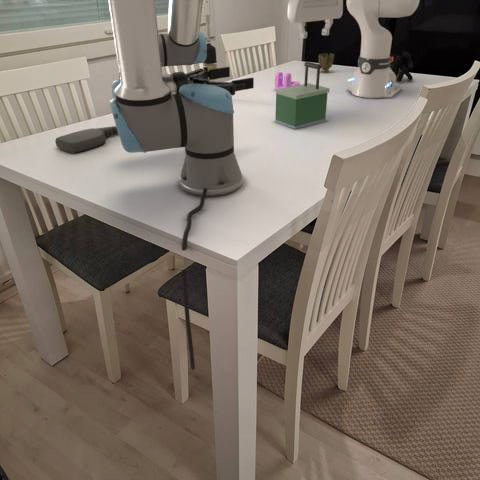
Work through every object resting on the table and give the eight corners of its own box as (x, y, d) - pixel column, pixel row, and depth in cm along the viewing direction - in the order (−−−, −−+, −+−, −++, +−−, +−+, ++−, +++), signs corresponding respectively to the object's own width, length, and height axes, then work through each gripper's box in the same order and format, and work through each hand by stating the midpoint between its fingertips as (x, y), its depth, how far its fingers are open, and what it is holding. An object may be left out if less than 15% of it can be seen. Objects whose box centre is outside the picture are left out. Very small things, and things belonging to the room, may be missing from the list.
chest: (305, 114, 158) (306, 87, 154) (325, 121, 152) (327, 92, 147) (275, 121, 152) (276, 93, 147) (294, 129, 145) (296, 99, 140)
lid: (308, 86, 154) (310, 59, 149) (329, 92, 147) (331, 63, 142) (276, 93, 147) (276, 65, 142) (296, 99, 140) (297, 70, 135)
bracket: (286, 91, 186) (286, 74, 182) (275, 89, 189) (275, 72, 185) (302, 85, 195) (302, 68, 191) (291, 83, 197) (291, 67, 194)
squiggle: (400, 92, 202) (376, 71, 205) (417, 76, 202) (392, 56, 205) (405, 81, 191) (380, 59, 194) (423, 64, 191) (397, 42, 194)
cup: (315, 72, 216) (316, 55, 212) (320, 69, 222) (321, 52, 218) (330, 73, 213) (331, 56, 209) (334, 71, 219) (336, 53, 215)
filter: (220, 99, 177) (217, 15, 161) (206, 100, 176) (202, 16, 160) (215, 96, 182) (212, 14, 166) (202, 97, 180) (197, 14, 164)
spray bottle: (53, 147, 134) (120, 127, 150) (74, 154, 128) (141, 133, 144) (51, 137, 132) (118, 118, 149) (72, 145, 126) (140, 124, 143)
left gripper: (156, 90, 130) (220, 80, 139) (192, 115, 112) (263, 102, 121) (153, 63, 126) (219, 54, 134) (190, 85, 108) (264, 73, 117)
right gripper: (334, -16, 140) (330, 32, 147) (285, -13, 130) (283, 38, 137) (350, -16, 135) (345, 34, 143) (299, -13, 125) (297, 41, 133)
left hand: (240, 77), depth 128 cm, fingers open, 13 cm apart
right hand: (314, 36), depth 140 cm, fingers open, 8 cm apart
